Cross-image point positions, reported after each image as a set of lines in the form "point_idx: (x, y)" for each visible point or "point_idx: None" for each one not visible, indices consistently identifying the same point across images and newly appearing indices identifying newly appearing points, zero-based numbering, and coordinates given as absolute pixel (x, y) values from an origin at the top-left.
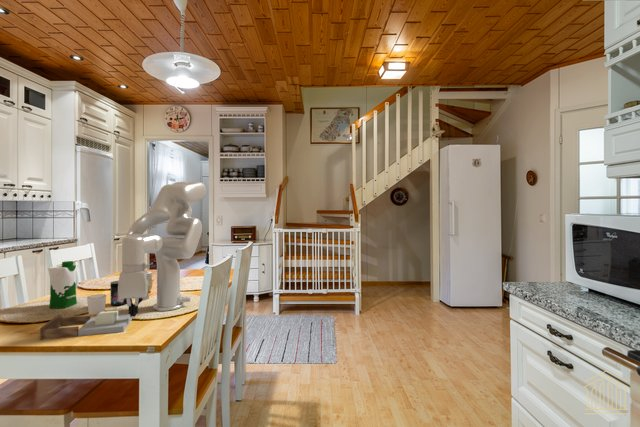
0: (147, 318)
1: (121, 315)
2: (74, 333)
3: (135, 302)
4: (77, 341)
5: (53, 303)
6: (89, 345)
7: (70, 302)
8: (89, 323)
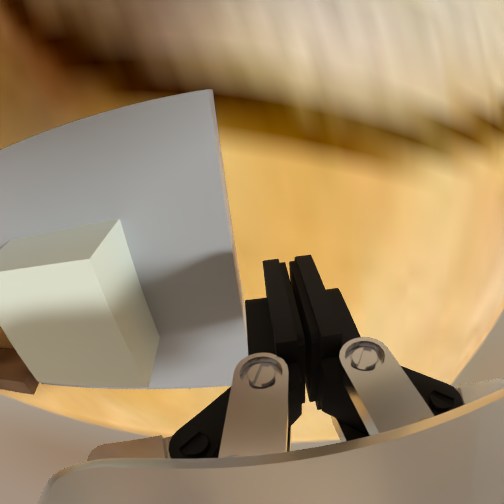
0: (357, 102)
1: (108, 132)
2: None
3: (350, 439)
4: (98, 406)
5: None
6: None
7: None
8: None
